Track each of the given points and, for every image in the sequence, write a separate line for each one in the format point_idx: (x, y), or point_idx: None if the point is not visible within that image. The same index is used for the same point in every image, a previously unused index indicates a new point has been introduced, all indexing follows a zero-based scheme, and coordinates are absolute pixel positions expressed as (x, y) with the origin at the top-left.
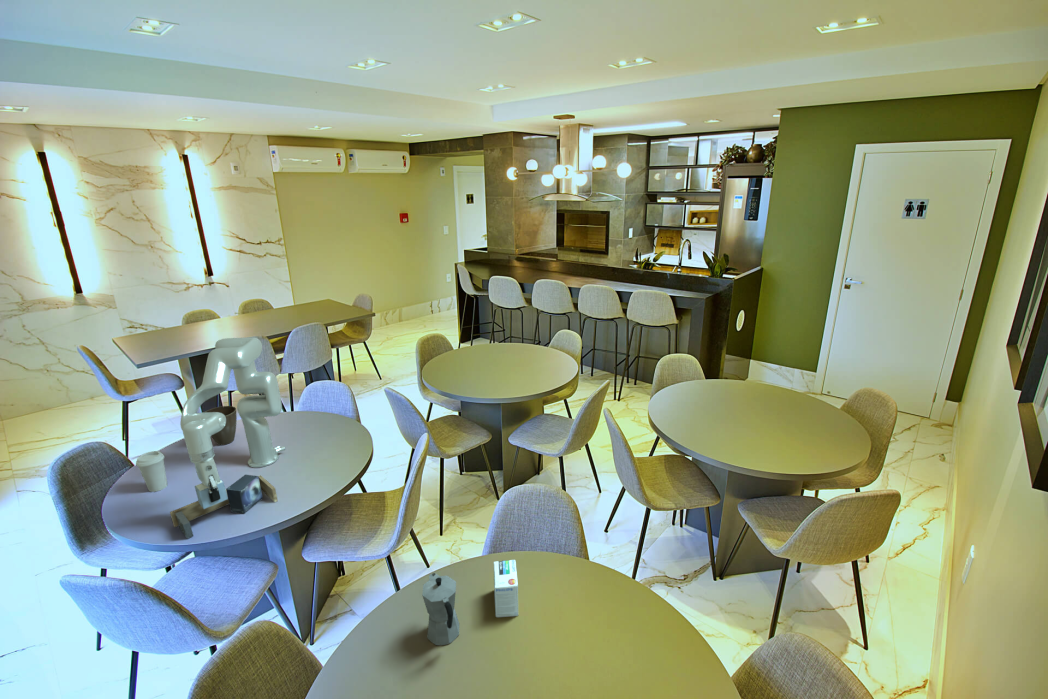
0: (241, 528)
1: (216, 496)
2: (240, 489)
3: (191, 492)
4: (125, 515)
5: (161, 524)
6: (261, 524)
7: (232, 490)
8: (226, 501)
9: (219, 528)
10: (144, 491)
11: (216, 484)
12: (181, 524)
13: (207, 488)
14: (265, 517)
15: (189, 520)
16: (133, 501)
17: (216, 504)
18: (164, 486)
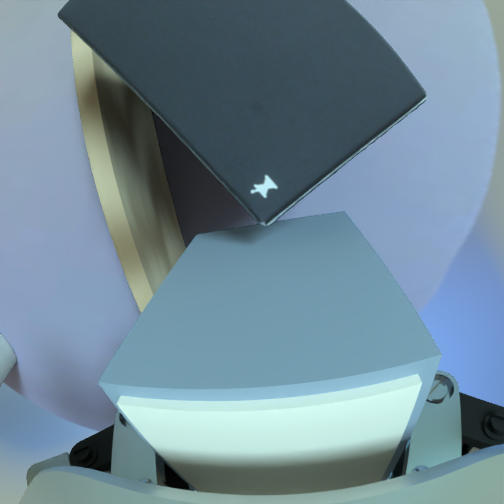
0: (459, 170)
1: None
2: (409, 76)
3: (24, 295)
4: (97, 420)
5: None
6: (482, 93)
7: (348, 158)
8: (159, 188)
9: (386, 252)
10: (15, 367)
11: (459, 449)
12: None
13: (384, 479)
14: (443, 53)
15: None
16: (46, 393)
17: (172, 245)
18: (1, 341)
